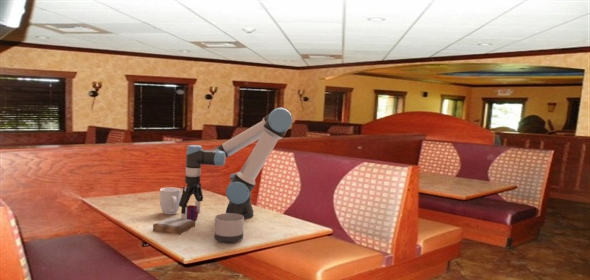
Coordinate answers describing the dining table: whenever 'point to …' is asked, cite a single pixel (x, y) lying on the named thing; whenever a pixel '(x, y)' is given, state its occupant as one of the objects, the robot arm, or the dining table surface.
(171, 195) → the mug
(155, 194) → the dining table surface
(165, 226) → the stand
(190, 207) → the cup
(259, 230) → the dining table surface
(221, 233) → the planter
